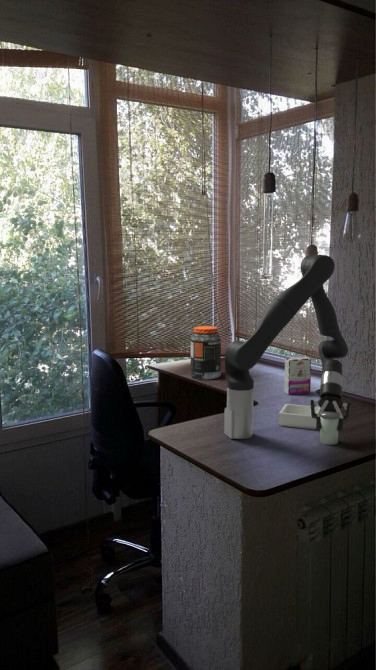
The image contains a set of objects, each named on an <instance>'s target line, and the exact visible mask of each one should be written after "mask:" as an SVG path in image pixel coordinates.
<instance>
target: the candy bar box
mask: <svg viewBox="0 0 376 670" xmlns="http://www.w3.org/2000/svg"><path fill="white" fill-rule="evenodd" d="M311 374H312V358H311V357H308V356H302V357H300V356H299V357H286V358H284V394H286V395H288V396H294V395H295V396H296V395H306V394H307V395H308V394H311V386H312V385H311V384H312V383H311V377H312V375H311Z"/></svg>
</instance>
